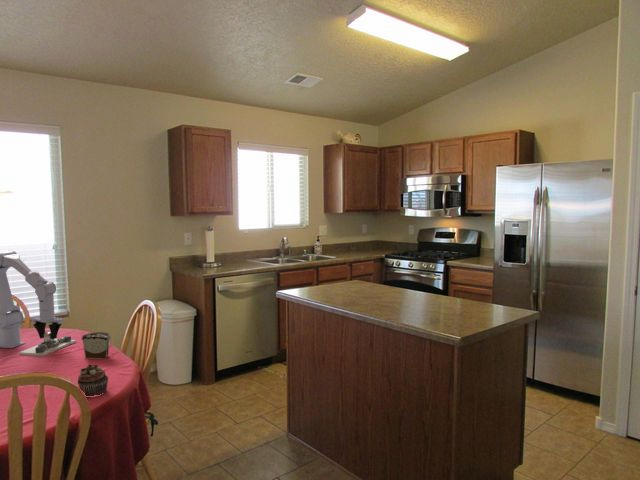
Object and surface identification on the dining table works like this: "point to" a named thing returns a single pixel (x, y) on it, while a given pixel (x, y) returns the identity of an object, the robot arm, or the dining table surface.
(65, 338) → the shaft
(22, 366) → the dining table surface
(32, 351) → the shaft board
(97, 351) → the food container
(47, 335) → the coupler
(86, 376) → the cupcake
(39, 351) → the shaft
